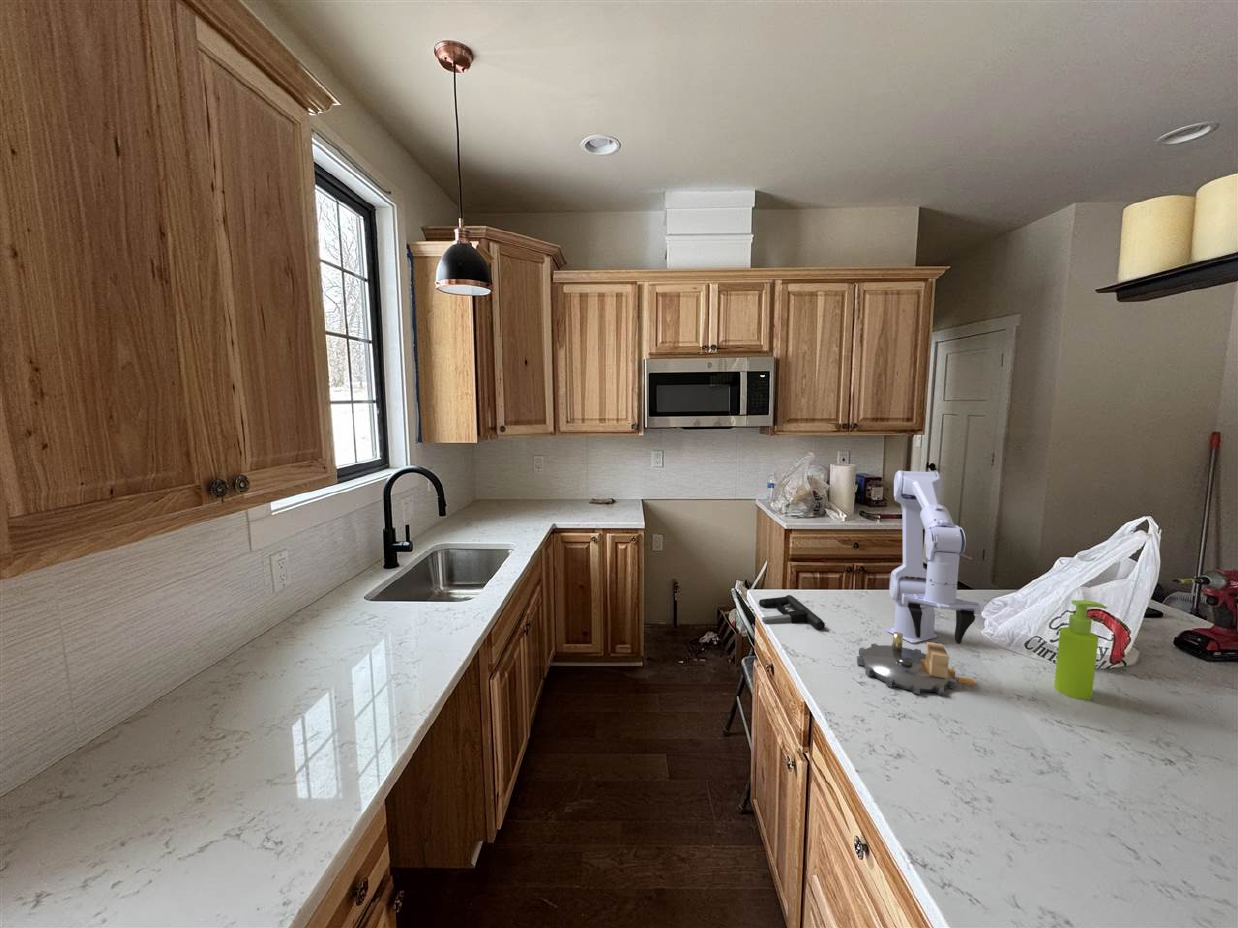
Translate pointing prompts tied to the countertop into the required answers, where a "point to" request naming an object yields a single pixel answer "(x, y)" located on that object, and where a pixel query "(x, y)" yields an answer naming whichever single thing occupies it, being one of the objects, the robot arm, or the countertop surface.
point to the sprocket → (902, 667)
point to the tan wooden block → (937, 660)
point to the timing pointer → (966, 680)
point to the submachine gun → (790, 612)
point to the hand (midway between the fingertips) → (937, 638)
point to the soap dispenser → (1077, 654)
